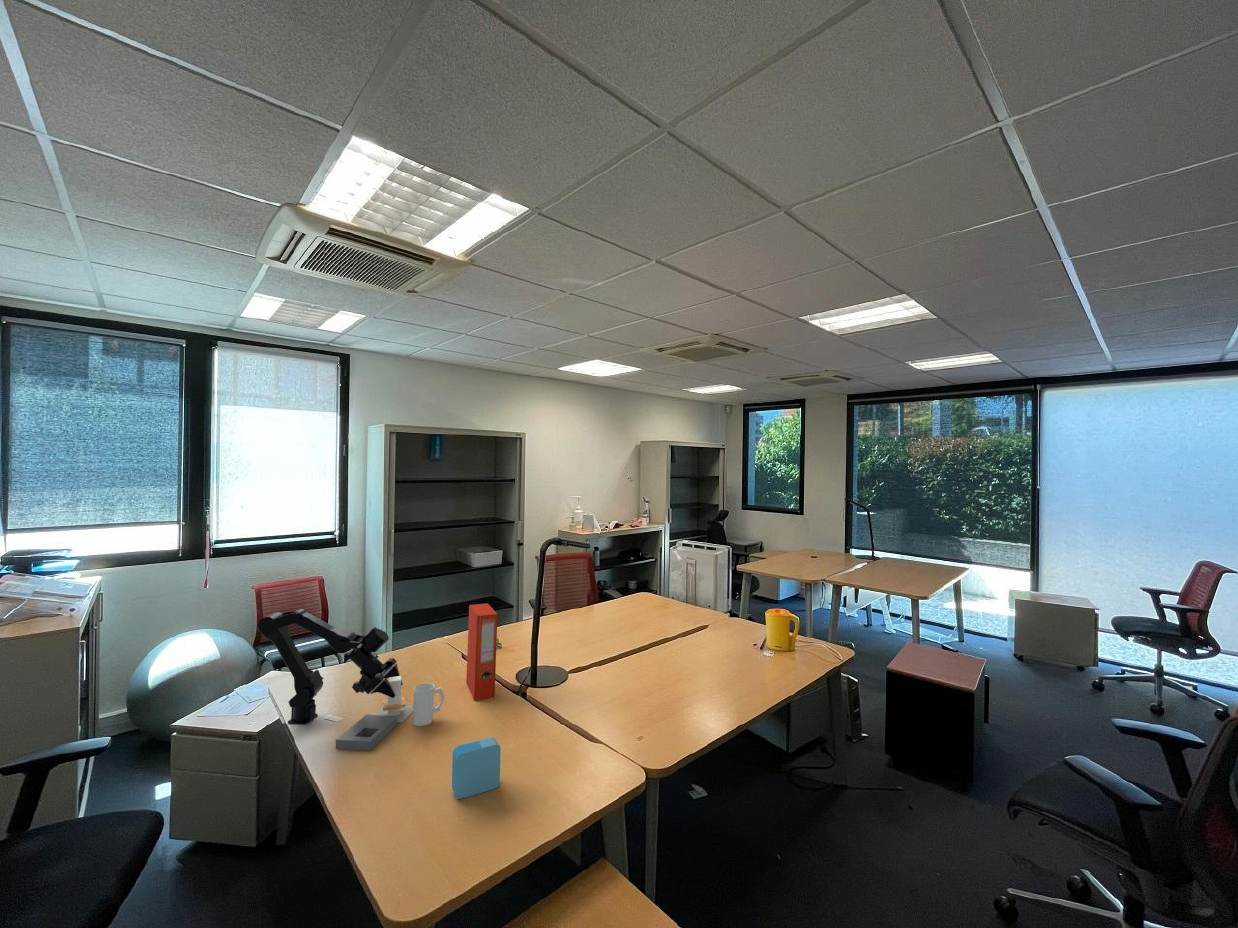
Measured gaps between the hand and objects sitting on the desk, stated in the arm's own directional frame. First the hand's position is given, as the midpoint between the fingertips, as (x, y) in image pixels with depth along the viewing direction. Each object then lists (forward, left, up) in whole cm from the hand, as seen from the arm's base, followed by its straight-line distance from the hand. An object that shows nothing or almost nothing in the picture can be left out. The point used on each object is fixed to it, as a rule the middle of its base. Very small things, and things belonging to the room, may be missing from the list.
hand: (398, 691), depth 173 cm
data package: (+43, -37, -8) cm, 57 cm away
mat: (-1, 0, -8) cm, 8 cm away
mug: (+13, -3, -8) cm, 16 cm away
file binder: (+22, +23, -8) cm, 33 cm away
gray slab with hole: (-2, -15, -8) cm, 17 cm away
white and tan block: (-1, 0, -8) cm, 8 cm away
